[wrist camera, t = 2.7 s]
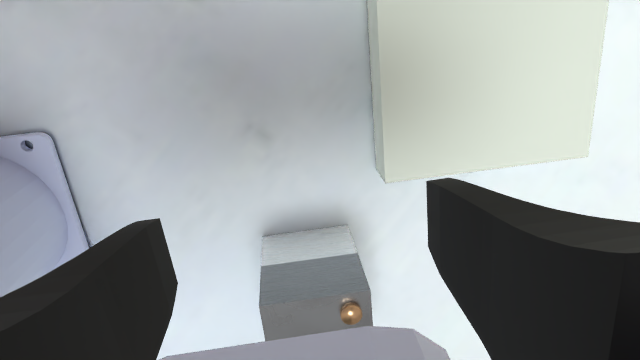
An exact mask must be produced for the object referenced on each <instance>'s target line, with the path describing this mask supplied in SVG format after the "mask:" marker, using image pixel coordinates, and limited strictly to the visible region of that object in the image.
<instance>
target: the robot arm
mask: <svg viewBox="0 0 640 360" xmlns="http://www.w3.org/2000/svg"><path fill="white" fill-rule="evenodd" d="M25 141H29V142H31V143H32V145H33V149H30V148H28V147H27V146H26V145H25ZM427 218H428V247H429V250H430V252H431V255H432V257H433V260H434V262H435V264H436V266H437V269H438V271H439V273H440V275H441V277H442V279H443V280H444V282H445V284H446V285H447V287H448V288H449V290H450V292H451V293H452V295H453V296H454V298H455V300H456V301H457V303H458V304H459V306H460V308H461V309H462V311H463V312H464V314H465V315H466V317H467V319H468V320H469V322H470V323H471V325H472V326H473V328H474V330H475V331H476V333H477V334H478V336H479V338H480V339H481V341H482V343H483V345H484V346H485V348H486V350H487V352H488V353H489V356H490V358H491V360H640V223H639V222H630V221H622V220H614V219H606V218H599V217H592V216H586V215H581V214H576V213H571V212H566V211H561V210H556V209H552V208H548V207H544V206H540V205H536V204H533V203H529V202H526V201H522V200H519V199H516V198H512V197H509V196H506V195H503V194H500V193H497V192H494V191H491V190H488V189H485V188H482V187H479V186H477V185H474V184H471V183H468V182H464V181H461V180H457V179H452V178H445V179H438V180H431V181H427ZM177 285H178V282H177V279H176V275H175V271H174V268H173V264H172V261H171V257H170V254H169V250H168V247H167V243H166V239H165V236H164V232H163V229H162V225H161V222H160V218H158V219H151V220H144V221H137V222H134V223H132V224H129V225H127V226H126V227H124V228H122V229H120V230H118V231H117V232H115V233H113V234H112V235H110V236H108V237H107V238H105V239H104V240H102V241H100V242H99V243H97V244H96V245H94V246H92V247H91V248H89V246H88V243H87V240H86V238H85V235H84V232H83V229H82V226H81V223H80V220H79V217H78V214H77V211H76V208H75V205H74V202H73V199H72V196H71V193H70V190H69V187H68V184H67V181H66V178H65V175H64V172H63V169H62V166H61V163H60V160H59V157H58V154H57V152H56V149H55V146H54V143H53V140H52V139H51V137H50V136H49V135H48V134H46V133H43V132H34V133H26V134H17V135H9V136H1V137H0V360H156V358H157V356H158V353H159V350H160V347H161V345H162V342H163V339H164V336H165V333H166V331H167V328H168V325H169V322H170V319H171V316H172V312H173V307H174V302H175V297H176V291H177ZM159 360H450V358H449V356H448V354H447V352H446V350H445V349H444V348H442V347H441V346H439V345H437V344H436V343H434V342H433V341H431V340H430V339H428V338H426V337H425V336H423V335H422V334H420V333H419V332H417V331H415V330H414V329H407V328H391V327H376V326H364V327H358V328H351V329H344V330H338V331H331V332H324V333H318V334H311V335H305V336H298V337H291V338H285V339H278V340H271V341H265V342H258V343H252V344H245V345H238V346H232V347H225V348H218V349H212V350H205V351H199V352H192V353H185V354H179V355H172V356H167V357H164V358H162V359H159Z"/></svg>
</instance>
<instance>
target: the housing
mask: <svg viewBox="0 0 640 360" xmlns="http://www.w3.org/2000/svg"><path fill="white" fill-rule="evenodd" d="M259 308H260V314H261V319H262V325H263V330H264V335H265V341H271V340H278V339H285V338H291V337H298V336H305V335H311V334H318V333H324V332H331V331H338V330H344V329H351V328H358V327H364V326H373V322H372V307H371V293H370V288H369V285H368V282H367V279H366V276H365V273H364V270H363V268H362V265H361V262H360V259H359V256H358V253H357V250H356V247H355V244H354V241H353V239H352V236H351V233H350V230H349V227H348V225H342V226H335V227H327V228H320V229H313V230H305V231H298V232H291V233H283V234H276V235H268V236H262V256H261V278H260V299H259Z"/></svg>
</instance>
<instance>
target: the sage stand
mask: <svg viewBox="0 0 640 360" xmlns="http://www.w3.org/2000/svg"><path fill="white" fill-rule="evenodd" d="M608 4H609V0H367V12H368V30H369V48H370V67H371V85H372V103H373V121H374V139H375V157H376V170H377V171H378V173H379V174H380V176H381V177H382V179H383V180H384V182H385V183H392V182H399V181H407V180H415V179H422V178H430V177H438V176H445V175H453V174H461V173H468V172H476V171H484V170H491V169H499V168H506V167H514V166H522V165H529V164H537V163H545V162H552V161H560V160H568V159H575V158H583V157H588V154H589V146H590V139H591V131H592V124H593V116H594V109H595V101H596V94H597V86H598V79H599V71H600V64H601V56H602V49H603V41H604V34H605V27H606V19H607V12H608Z"/></svg>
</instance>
